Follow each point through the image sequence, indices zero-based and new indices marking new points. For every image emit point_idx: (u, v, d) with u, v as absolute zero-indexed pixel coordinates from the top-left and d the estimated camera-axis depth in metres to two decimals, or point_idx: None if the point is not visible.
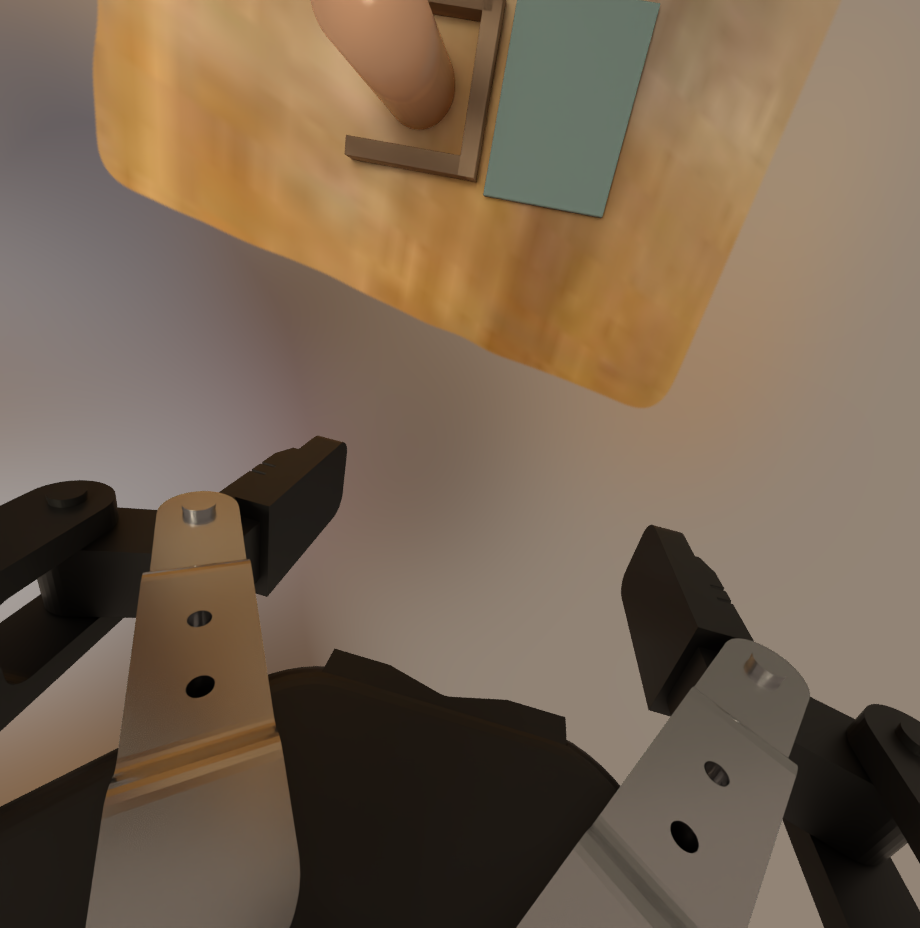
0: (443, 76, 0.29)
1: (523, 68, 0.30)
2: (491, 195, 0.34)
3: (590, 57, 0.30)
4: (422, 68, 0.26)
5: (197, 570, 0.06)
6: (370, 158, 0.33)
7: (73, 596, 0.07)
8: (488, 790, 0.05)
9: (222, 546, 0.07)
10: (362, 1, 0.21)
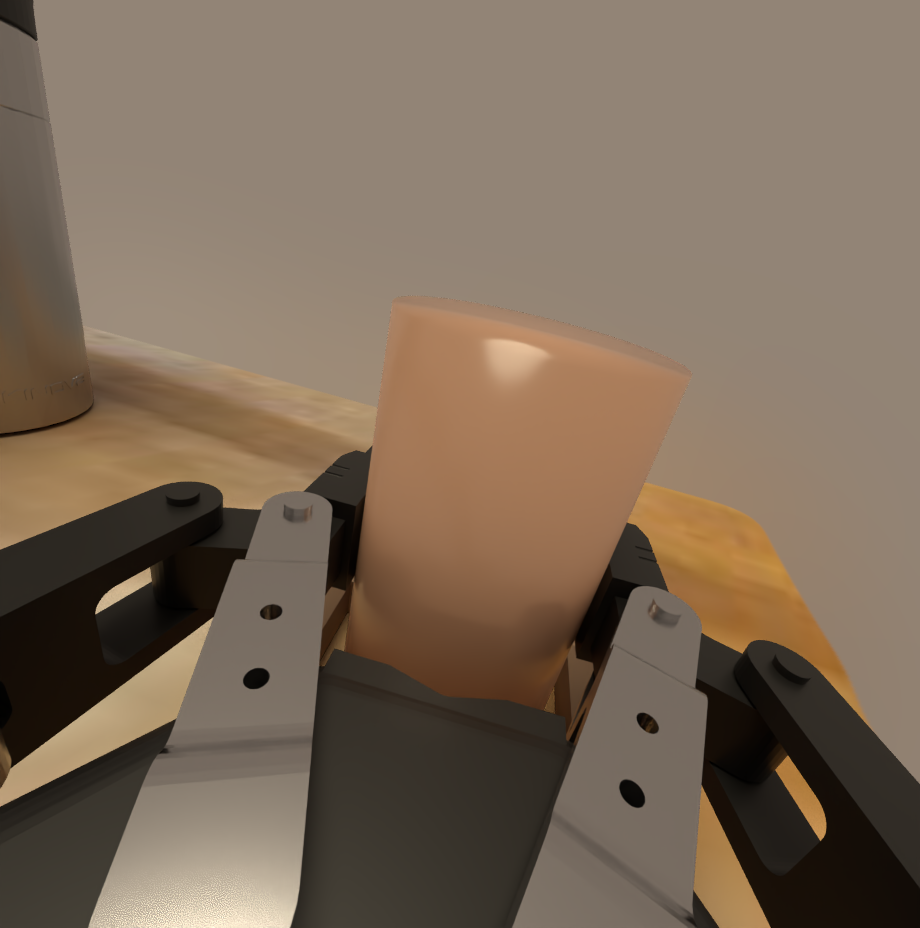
0: None
1: None
2: None
3: None
4: None
5: (280, 565, 0.06)
6: None
7: (174, 589, 0.08)
8: (488, 790, 0.05)
9: (328, 542, 0.07)
10: (570, 336, 0.08)
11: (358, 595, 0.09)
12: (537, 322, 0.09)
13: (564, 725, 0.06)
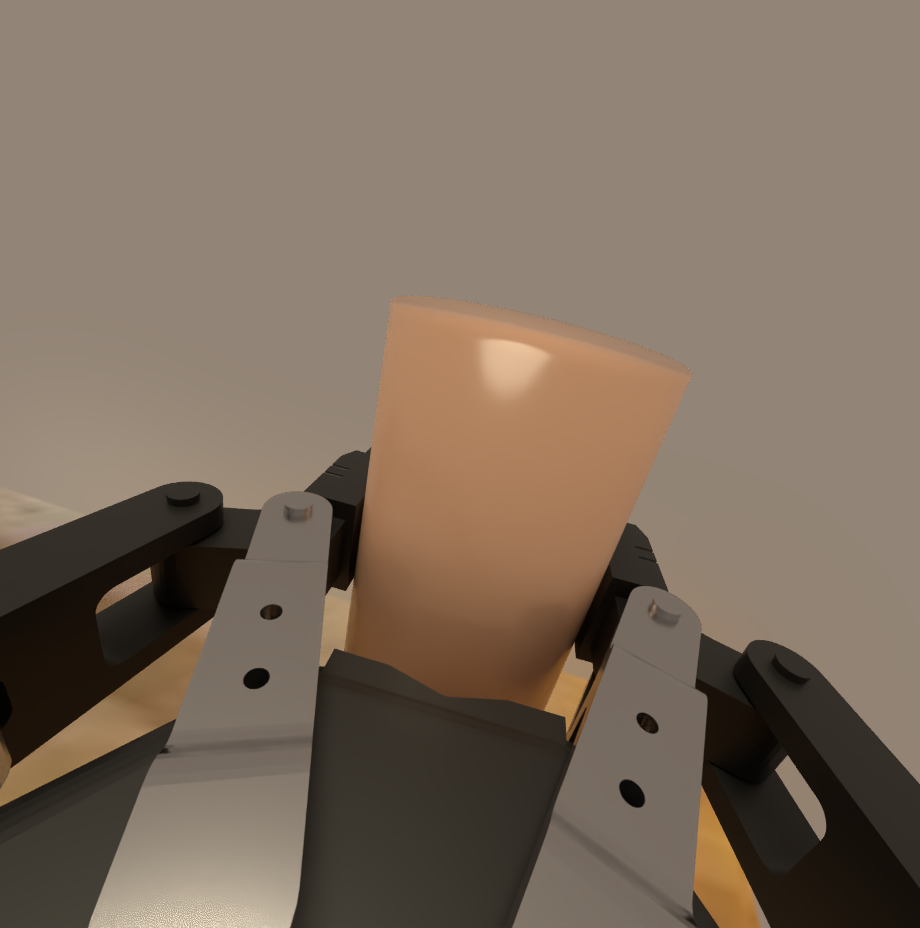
0: None
1: None
2: None
3: None
4: None
5: (280, 565, 0.06)
6: None
7: (175, 589, 0.08)
8: (488, 790, 0.05)
9: (328, 543, 0.07)
10: (569, 335, 0.08)
11: (357, 596, 0.09)
12: (536, 322, 0.09)
13: (564, 725, 0.06)
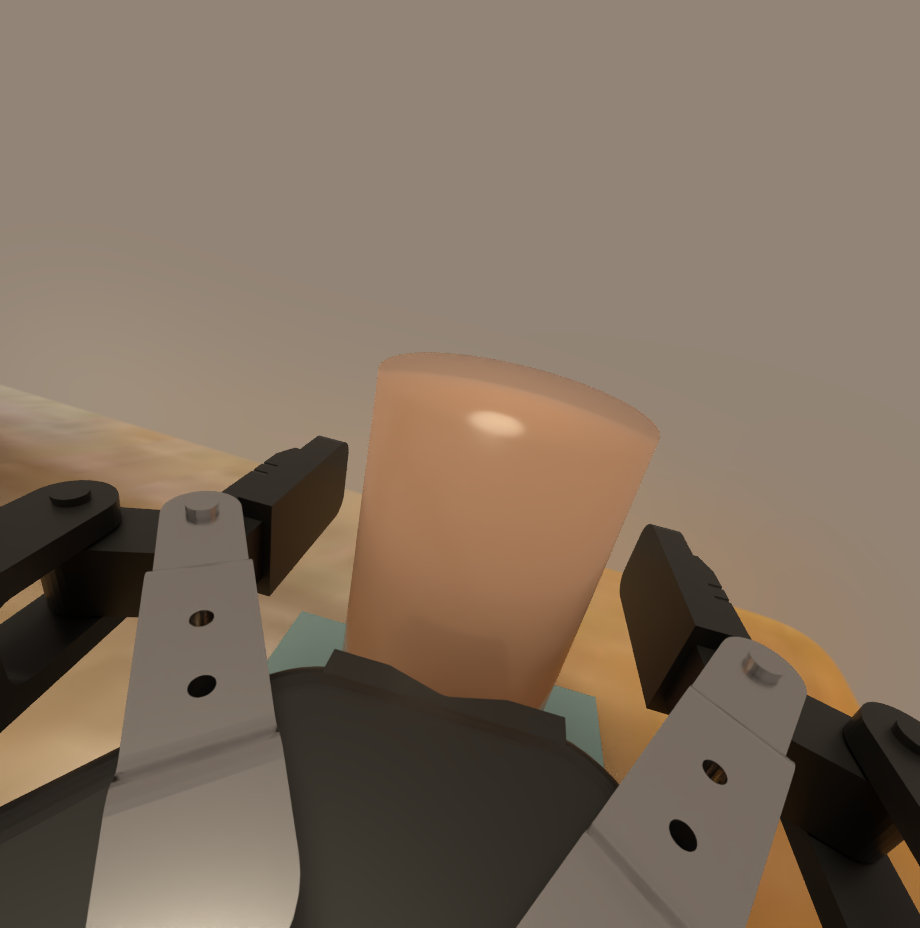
0: None
1: None
2: None
3: None
4: None
5: (199, 570, 0.06)
6: None
7: (76, 595, 0.07)
8: (488, 790, 0.05)
9: (225, 546, 0.07)
10: (547, 395, 0.08)
11: (349, 637, 0.10)
12: (519, 376, 0.10)
13: (564, 725, 0.06)
